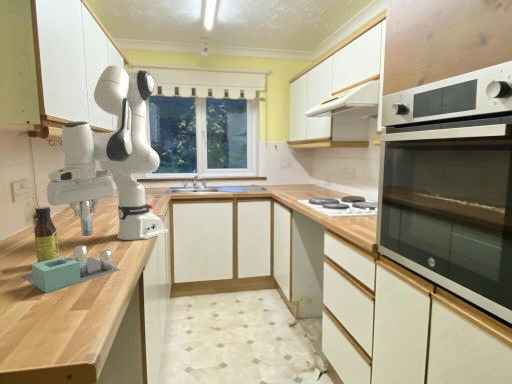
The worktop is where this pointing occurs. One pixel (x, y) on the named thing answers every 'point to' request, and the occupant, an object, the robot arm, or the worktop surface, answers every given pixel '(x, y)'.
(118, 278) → the worktop surface
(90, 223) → the long pin
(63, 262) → the block
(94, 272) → the mat
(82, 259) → the medium pin
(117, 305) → the worktop surface
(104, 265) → the short pin
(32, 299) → the worktop surface
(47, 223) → the sauce bottle
